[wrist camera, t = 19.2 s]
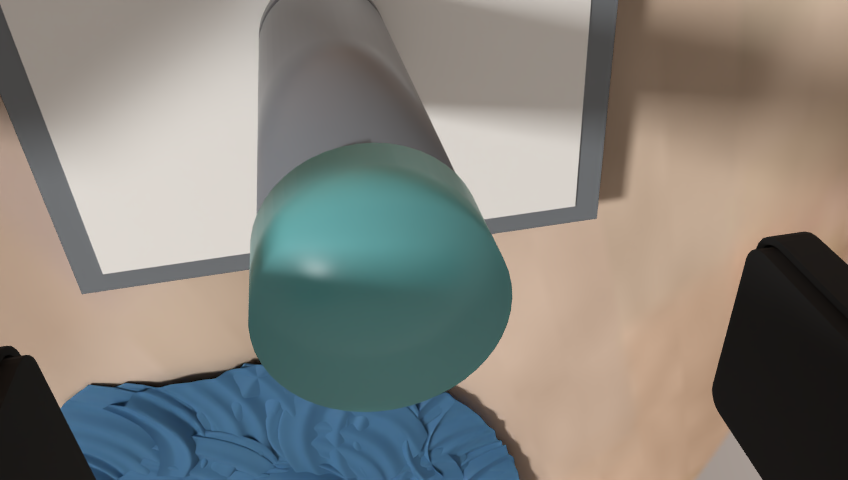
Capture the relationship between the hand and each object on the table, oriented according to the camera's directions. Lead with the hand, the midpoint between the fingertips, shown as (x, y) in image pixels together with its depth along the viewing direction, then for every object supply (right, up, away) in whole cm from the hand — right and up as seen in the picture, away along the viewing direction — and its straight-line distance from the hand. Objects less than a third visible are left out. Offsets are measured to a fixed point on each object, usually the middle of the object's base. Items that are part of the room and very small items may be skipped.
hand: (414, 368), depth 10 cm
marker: (-3, +8, +13) cm, 16 cm away
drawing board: (-3, +7, +16) cm, 18 cm away
